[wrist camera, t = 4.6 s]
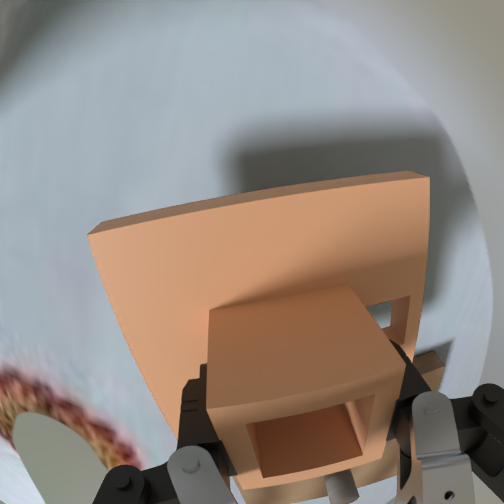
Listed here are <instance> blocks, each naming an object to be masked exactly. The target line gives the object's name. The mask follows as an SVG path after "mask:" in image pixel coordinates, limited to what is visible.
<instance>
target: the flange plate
mask: <svg viewBox="0 0 504 504" xmlns="http://www.w3.org/2000/svg"><path fill="white" fill-rule="evenodd" d="M429 220H430V177H428V176H425V175H422V174H418V173H415V172H412V171H398V172H389V173H379V174H371V175H362V176H354V177H346V178H338V179H330V180H323V181H316V182H309V183H302V184H295V185H288V186H282V187H276V188H269V189H263V190H257V191H251V192H245V193H240V194H234V195H228V196H223V197H217V198H212V199H207V200H202V201H196V202H191V203H186V204H181V205H176V206H172V207H167V208H162V209H157V210H153V211H148V212H143V213H139V214H134V215H130V216H126V217H121V218H117V219H113V220H108V221H104V222H101V223H100V224H99V225H98V226H96V227H95V228H94V229H93V230H92V231H91V232H90V233H88V234H87V238H88V242H89V245H90V248H91V251H92V254H93V257H94V260H95V263H96V266H97V269H98V272H99V274H100V277H101V280H102V283H103V285H104V288H105V291H106V293H107V296H108V299H109V301H110V304H111V306H112V309H113V311H114V314H115V316H116V319H117V321H118V324H119V326H120V328H121V331H122V333H123V335H124V337H125V340H126V342H127V344H128V346H129V349H130V351H131V353H132V355H133V357H134V360H135V362H136V364H137V366H138V368H139V370H140V372H141V374H142V376H143V378H144V380H145V382H146V384H147V386H148V388H149V390H150V392H151V394H152V396H153V398H154V400H155V401H156V403H157V405H158V407H159V409H160V411H161V412H162V414H163V416H164V418H165V420H166V421H167V423H168V425H169V427H170V428H171V430H172V432H173V434H174V435H175V437H176V439H177V440H178V431H179V419H180V413H181V411H180V408H181V397H182V390H183V388H184V386H185V385H186V383H187V381H188V380H189V379H197V378H199V374H200V364H205V363H207V392H206V410H207V412H208V415H209V417H210V419H211V422H212V424H213V426H214V429H215V431H216V433H217V436H218V438H219V440H222V442H223V444H224V446H225V449H226V451H227V453H228V455H229V457H230V460H231V462H232V464H233V466H234V468H235V470H236V473H237V476H236V477H237V479H238V481H239V483H240V485H241V487H242V489H243V490H247V489H255V488H262V487H269V486H275V485H281V484H287V483H292V482H297V481H302V480H306V479H311V478H315V477H320V476H324V475H328V474H332V473H335V472H339V471H343V470H346V469H350V468H353V467H356V466H360V465H363V464H366V463H369V462H372V461H375V460H378V459H381V458H382V455H383V452H384V448H385V445H386V437H387V434H388V430H389V427H390V423H391V419H392V416H393V412H394V408H395V404H396V400H397V399H399V395H400V390H401V386H402V382H403V377H404V372H405V367H406V363H405V362H404V361H403V359H402V358H401V356H400V355H399V353H398V352H397V351H396V349H395V348H394V346H393V345H392V343H391V342H390V341H389V339H390V340H392V341H394V342H395V343H397V344H398V345H400V346H401V348H402V349H403V350H404V352H405V353H406V356H408V357H409V359H410V360H411V362H413V357H414V352H415V347H416V341H417V336H418V330H419V324H420V318H421V311H422V304H423V296H424V288H425V279H426V268H427V257H428V242H429ZM391 300H393V301H392V313H391V323H390V326H389V327H385V328H382V329H381V328H380V327H379V325H378V324H377V322H376V321H375V320H374V318H373V317H372V316H371V314H370V313H369V312H368V310H367V309H366V307H367V306H371V305H375V304H379V303H383V302H387V301H391Z"/></svg>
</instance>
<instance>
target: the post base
mask: <svg viewBox="0 0 504 504" xmlns="http://www.w3.org/2000/svg"><path fill="white" fill-rule="evenodd" d="M412 364H414V366H415V367H416V369H417V370H418V371H419V373H420V374H421V376H422V377H423V379H424V380H425V381H426V383H427V384H428V386H429V387H430V389H431V390H432V391H436V392H438V389H439V385H440V382H441V379H442V376H443V372H444V369H445V364H444V363H443V362H442V361H441V359H440V358H439V357H438V356H437V354H436V353H435V352H434V351H431V352H429V353H426V354H423V355H420V356H417V357H414V358H413V362H412ZM398 445H399V444H398V442H397V440H396V438H395V439H392V440H389V441H387V442H386V445H385V448H384V452H383V455H382V458H381V459H378V460H375V461H372V462H369V463H366V464H363V465H360V466H356V467H353V468H350V469H346V470H343V471H339V472H335V473H332V474H328V475H324V476H320V477H315V478H311V479H306V480H302V481H297V482H292V483H287V484H281V485H275V486H269V487H262V488H255V489H247V490H243V489H242V487H241V485H240V483H239V481H238V479H237V477H236V476H232V477H233V479H234V481H235V483H236V485H237V487H238V489H239V491H240V493H241V494H242V496H243V498H244V500H245V502H246V504H290V503H295V502H301V501H306V500H311V499H316V498H320V497H325V496H329V500H330V504H349V503H352V502H354V501H355V500H357V499H358V498H359V494H358V491H357V488H359V487H362V486H366V485H369V484H372V483H375V482H378V481H381V480H384V479H387V478H390V477H393V476H396V475H397V448H398Z"/></svg>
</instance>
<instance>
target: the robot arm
mask: <svg viewBox="0 0 504 504" xmlns="http://www.w3.org/2000/svg"><path fill="white" fill-rule="evenodd" d="M389 341H390V342H391V343H392V345H393V346H394V348H395V349H396V351H397V352H398V353H399V355H400V356H401V358H402V359H403V361H404V362H405V363H406V367H405V372H404V377H403V382H402V386H401V390H400V395H399V399H397V400H396V404H395V408H394V412H393V416H392V419H391V423H390V427H389V430H388V434H387V437H386V442H387V441H389V440H392V439H395V438H396V440H397V442H398V444H399V445H398V448H397V495H396V500H395V503H394V504H475V495H474V487H473V477H472V471H473V472H474V473H475V474H476V475H477V476H478V477H479V478H480V479H481V480H482V481H483V482H484V483H485V484H486V485H487V486H488V487H489V488H490V489H491V490H492V491H493V492H494V493H495V494H496V495H497V496H498V497H499V498H500V499H501V500H502V501H503V502H504V389H502V388H501V387H499V386H498V385H495V384H488V383H487V384H483V385H481V386H479V387H477V389H476V390H475V391H474V393H473V395H472V396H470V397H463V398H456V399H449V398H448V397H447V396H446V395H444V394H442V393H440V392H436V391H432V390H431V389H430V387H429V386H428V384H427V383H426V381H425V380H424V379H423V377H422V376H421V374H420V373H419V371H418V370H417V369H416V367H415V366H414V364H412V362H411V360H410V359H409V357H408V356H406V353H405V352H404V350H403V349H402V348H401V346H400V345H398V344H397V343H395V342H394V341H392V340H390V339H389ZM206 392H207V363H205V364H200V374H199V378H197V379H189V380H188V381H187V383H186V385H185V386H184V388H183V390H182V397H181V408H180V411H181V413H180V419H179V431H178V444H177V449H176V451H175V452H174V453H173V454H172V455H171V456H170V458H169V460H168V461H167V462H166V463H164V464H162V465H160V466H157V467H153V468H150V469H147V470H143V471H140V470H139V469H137V468H136V467H134V466H131V465H120V466H117V467H114V468H113V469H111V470H110V471H109V472H108V473H107V475H106V476H105V478H104V480H103V482H102V484H101V487H100V489H99V491H98V493H97V495H96V497H95V499H94V501H93V503H92V504H238V503H237V501H236V500H235V498H234V496H233V494H232V493H231V491H230V478H229V476H237V473H236V470H235V468H234V466H233V464H232V462H231V460H230V457H229V455H228V453H227V451H226V449H225V446H224V444H223V442H222V440H219V438H218V436H217V433H216V431H215V429H214V426H213V424H212V422H211V419H210V417H209V415H208V412H207V410H206ZM497 440H498V441H499V442H498V441H497Z"/></svg>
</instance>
